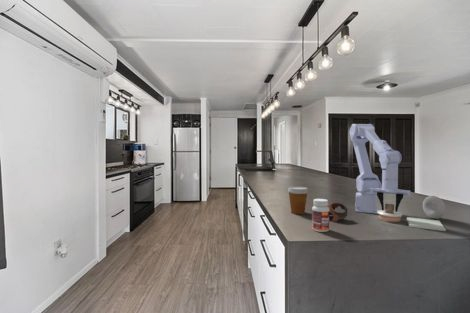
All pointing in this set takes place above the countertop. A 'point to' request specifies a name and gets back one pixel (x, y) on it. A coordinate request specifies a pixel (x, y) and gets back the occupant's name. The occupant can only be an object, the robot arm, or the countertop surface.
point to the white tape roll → (438, 207)
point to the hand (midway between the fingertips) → (389, 210)
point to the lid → (389, 211)
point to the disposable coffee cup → (297, 199)
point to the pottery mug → (337, 214)
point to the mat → (425, 224)
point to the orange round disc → (389, 218)
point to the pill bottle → (320, 215)
